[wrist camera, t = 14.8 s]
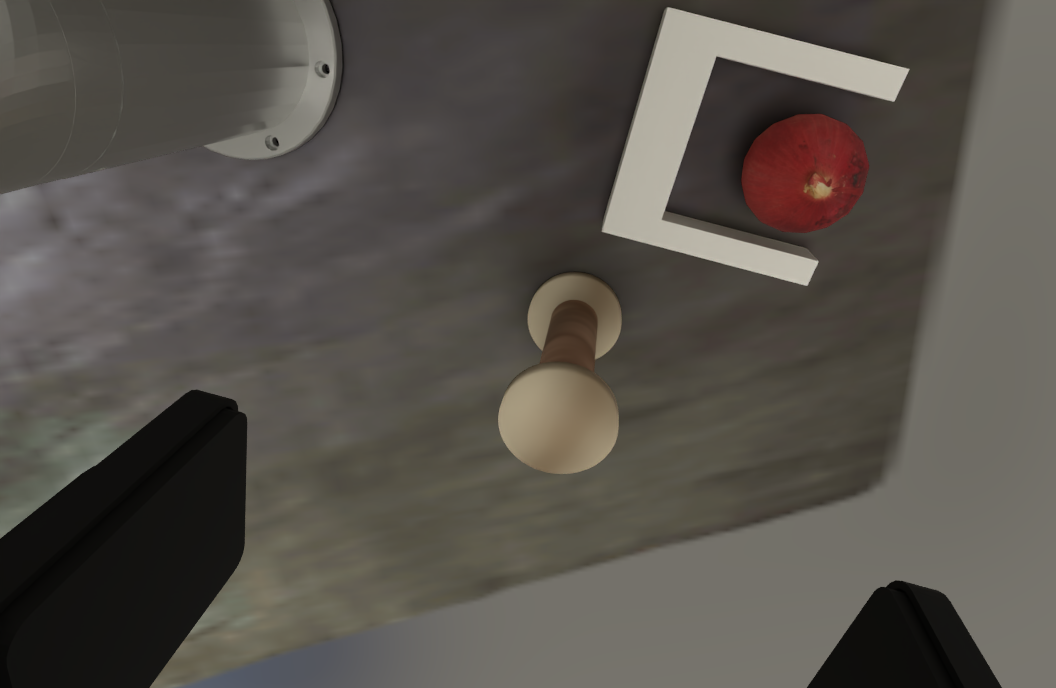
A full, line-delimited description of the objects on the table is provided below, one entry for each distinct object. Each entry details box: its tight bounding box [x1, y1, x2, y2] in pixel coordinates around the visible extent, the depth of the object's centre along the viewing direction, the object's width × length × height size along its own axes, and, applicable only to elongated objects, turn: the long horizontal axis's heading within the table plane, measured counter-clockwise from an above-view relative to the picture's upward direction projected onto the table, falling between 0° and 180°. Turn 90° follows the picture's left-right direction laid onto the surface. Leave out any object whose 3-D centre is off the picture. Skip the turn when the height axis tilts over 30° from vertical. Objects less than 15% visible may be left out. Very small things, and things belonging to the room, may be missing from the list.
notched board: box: [602, 7, 909, 286], centre depth 33 cm, size 12×12×2 cm
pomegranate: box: [741, 114, 869, 233], centre depth 31 cm, size 6×6×8 cm
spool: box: [498, 272, 622, 474], centre depth 34 cm, size 6×6×13 cm
